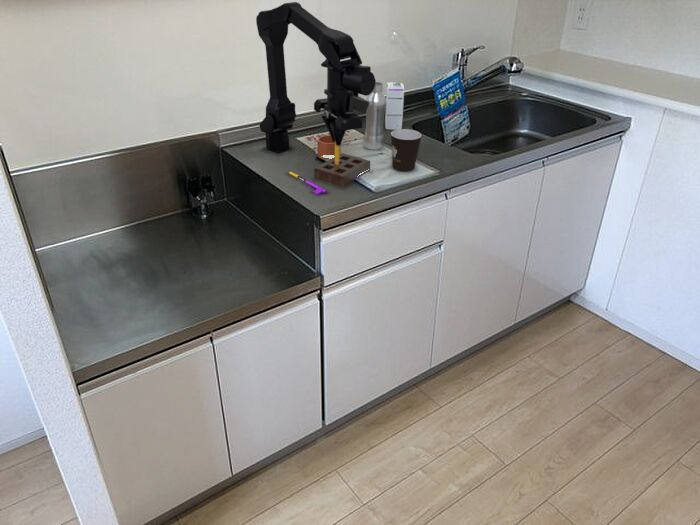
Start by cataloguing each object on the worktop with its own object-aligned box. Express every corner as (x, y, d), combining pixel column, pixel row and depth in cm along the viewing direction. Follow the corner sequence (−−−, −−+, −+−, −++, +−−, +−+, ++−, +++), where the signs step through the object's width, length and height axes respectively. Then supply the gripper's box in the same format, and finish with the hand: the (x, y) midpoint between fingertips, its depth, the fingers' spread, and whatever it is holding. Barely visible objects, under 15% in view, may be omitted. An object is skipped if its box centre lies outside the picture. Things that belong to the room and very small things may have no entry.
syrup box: (402, 130, 190) (405, 87, 183) (384, 129, 190) (387, 86, 183) (401, 124, 195) (404, 82, 187) (384, 123, 195) (386, 81, 187)
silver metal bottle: (359, 150, 174) (362, 85, 163) (367, 143, 179) (370, 79, 169) (379, 153, 172) (383, 88, 161) (386, 146, 177) (390, 82, 167)
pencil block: (314, 179, 155) (314, 167, 153) (342, 164, 165) (342, 152, 163) (343, 188, 151) (343, 176, 149) (369, 172, 160) (370, 160, 158)
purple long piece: (327, 192, 148) (291, 173, 158) (326, 188, 147) (290, 169, 157) (319, 197, 147) (283, 177, 157) (318, 193, 146) (282, 174, 156)
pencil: (333, 164, 157) (333, 129, 151) (336, 163, 158) (336, 128, 152) (337, 166, 156) (338, 130, 151) (340, 164, 157) (341, 129, 152)
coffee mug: (419, 173, 160) (422, 140, 155) (389, 172, 160) (391, 139, 155) (416, 158, 170) (419, 126, 165) (387, 157, 170) (390, 125, 165)
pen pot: (312, 157, 168) (312, 140, 165) (326, 150, 173) (326, 133, 170) (332, 163, 165) (332, 145, 162) (345, 156, 170) (345, 138, 167)
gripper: (382, 93, 141) (379, 152, 150) (350, 75, 155) (348, 129, 164) (343, 98, 137) (341, 158, 146) (312, 78, 151) (313, 134, 160)
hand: (337, 144), depth 154 cm, fingers closed on pencil, 1 cm apart
